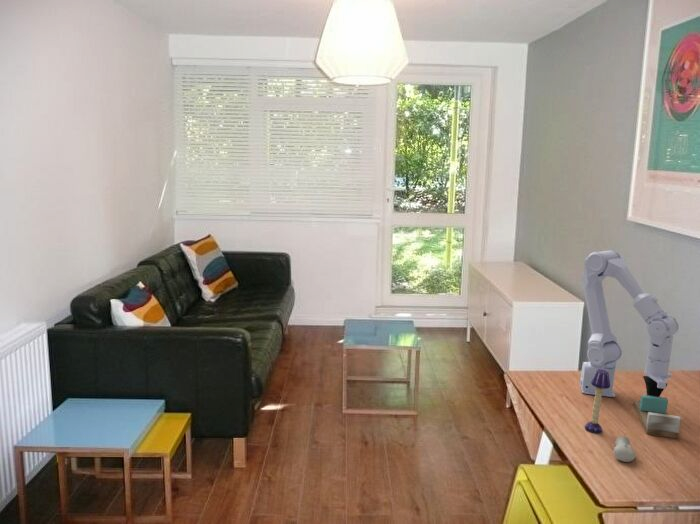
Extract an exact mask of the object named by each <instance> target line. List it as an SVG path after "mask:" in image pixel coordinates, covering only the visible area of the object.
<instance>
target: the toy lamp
mask: <svg viewBox="0 0 700 524" xmlns="http://www.w3.org/2000/svg"><path fill="white" fill-rule="evenodd" d="M591 384H592V385H593V386H595V387H596V392H595V395H594V397H593V398H594V399H593V400H594V401H593V407H592V413H591V419H590V421H589V422H587V423H586V424H585V425H584V429H585V430H586V431H588V432H589V433H594V434H600V433H602V432H603V429H602V426H601V425H600V423H599V417H600V412H601V407H602V406H601V405H602V404H601V402H602V397H603V396H602V391H603V389H607V388H609V387H610V380H609V373H608V372H607V371H606V370H601V369H598V370H597V371H596V372H595V374H594V377H593V379H592V381H591Z"/></svg>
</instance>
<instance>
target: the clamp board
mask: <svg viewBox="0 0 700 524" xmlns="http://www.w3.org/2000/svg"><path fill="white" fill-rule="evenodd" d="M640 401H641V400H638V399H633V401H632V407H633V408H634V410H635V412H636V414H637V417H638V419H639V421H640V423H641V425H642V428H643V430H644V432H645V433H646V435H652V436H657V437H658V436H659V437H664V438H665V437H667V438H672V439H679V434H680V433H679V430H680V427H681V426H680V424H681V419H682V418H681V417H680V416H679V415H672V414H668V413H667V412H666V414H664V413H656V412H649V411H642V410H640Z"/></svg>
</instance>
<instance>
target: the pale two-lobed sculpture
mask: <svg viewBox="0 0 700 524" xmlns="http://www.w3.org/2000/svg"><path fill="white" fill-rule="evenodd" d="M613 454H614V456H615V458H616V459H618V460H619V461H621V462H624V463H630V462H632V461H634V459H635V458H636V457H637V455H636V453H635V451H634V449H633V448H632V446H631V441H630V439H629V437H628V436H626V435H620V436H618V438H616V439H615V441H614V447H613Z"/></svg>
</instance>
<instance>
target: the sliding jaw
mask: <svg viewBox="0 0 700 524" xmlns="http://www.w3.org/2000/svg"><path fill="white" fill-rule="evenodd" d="M639 401H640V410H642V411H649V412H656V413H664V414H666V413H667V410H668V405H669V404H668V403H669V399H668V398H667V397H661V396H660V397H655V396H648V395H647V394H646V395H645V394H641V396H640V400H639Z"/></svg>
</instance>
